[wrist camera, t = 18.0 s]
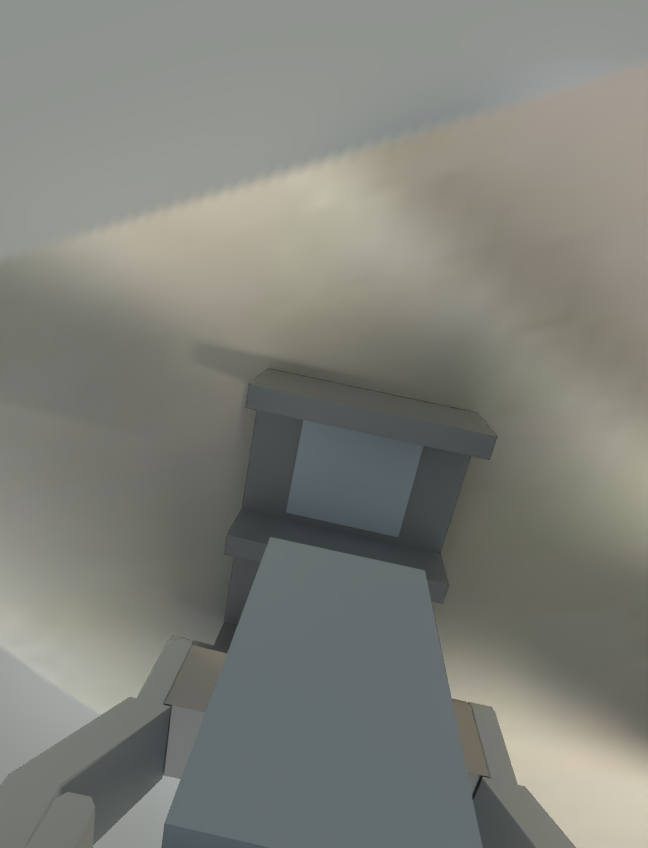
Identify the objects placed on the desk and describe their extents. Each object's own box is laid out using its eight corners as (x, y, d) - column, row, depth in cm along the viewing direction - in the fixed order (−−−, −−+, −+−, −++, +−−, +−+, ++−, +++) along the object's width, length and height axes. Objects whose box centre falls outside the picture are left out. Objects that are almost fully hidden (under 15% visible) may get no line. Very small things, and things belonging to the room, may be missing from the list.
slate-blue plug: (424, 570, 12) (493, 899, 5) (388, 690, 13) (409, 1070, 7) (270, 536, 12) (163, 823, 6) (248, 659, 13) (141, 1005, 7)
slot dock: (477, 413, 21) (497, 436, 18) (399, 664, 26) (404, 720, 23) (267, 368, 22) (249, 383, 18) (227, 624, 26) (206, 673, 23)
